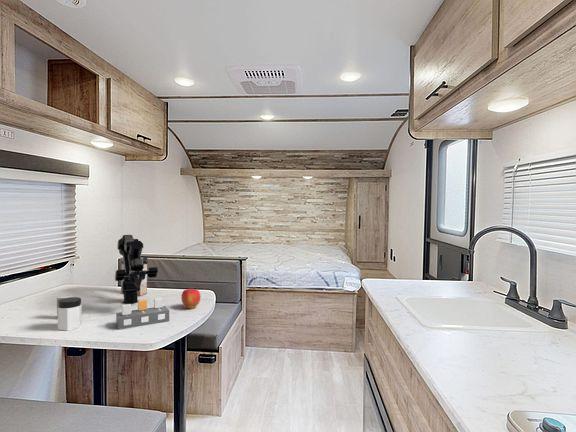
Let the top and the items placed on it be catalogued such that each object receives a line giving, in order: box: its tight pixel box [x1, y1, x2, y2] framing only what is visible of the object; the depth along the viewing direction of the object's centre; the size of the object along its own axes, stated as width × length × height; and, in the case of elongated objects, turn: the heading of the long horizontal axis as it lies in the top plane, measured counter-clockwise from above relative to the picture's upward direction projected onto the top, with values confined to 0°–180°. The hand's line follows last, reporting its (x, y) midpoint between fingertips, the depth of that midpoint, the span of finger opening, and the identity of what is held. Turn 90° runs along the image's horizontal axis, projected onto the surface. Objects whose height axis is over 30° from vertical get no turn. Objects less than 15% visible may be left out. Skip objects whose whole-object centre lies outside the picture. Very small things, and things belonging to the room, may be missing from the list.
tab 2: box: [137, 299, 148, 310], centre depth 156 cm, size 2×4×4 cm, turn 123°
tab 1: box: [121, 304, 132, 315], centre depth 150 cm, size 2×4×4 cm, turn 123°
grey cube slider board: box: [115, 305, 170, 330], centre depth 155 cm, size 8×21×5 cm, turn 123°
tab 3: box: [153, 297, 164, 308], centre depth 160 cm, size 2×4×4 cm, turn 123°
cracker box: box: [120, 258, 148, 297], centre depth 202 cm, size 14×6×21 cm, turn 71°
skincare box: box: [56, 294, 74, 320], centre depth 159 cm, size 5×4×10 cm
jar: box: [57, 296, 83, 332], centre depth 148 cm, size 9×8×12 cm
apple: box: [180, 288, 201, 310], centre depth 177 cm, size 10×10×10 cm
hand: (139, 288), depth 163 cm, fingers closed
